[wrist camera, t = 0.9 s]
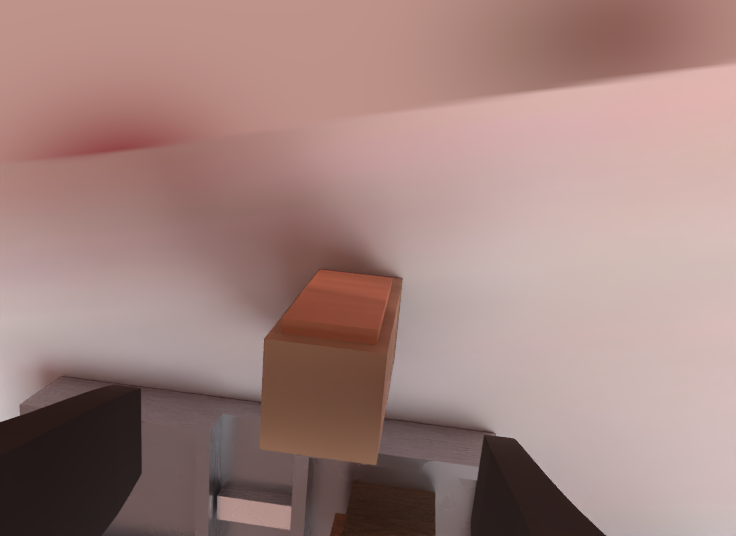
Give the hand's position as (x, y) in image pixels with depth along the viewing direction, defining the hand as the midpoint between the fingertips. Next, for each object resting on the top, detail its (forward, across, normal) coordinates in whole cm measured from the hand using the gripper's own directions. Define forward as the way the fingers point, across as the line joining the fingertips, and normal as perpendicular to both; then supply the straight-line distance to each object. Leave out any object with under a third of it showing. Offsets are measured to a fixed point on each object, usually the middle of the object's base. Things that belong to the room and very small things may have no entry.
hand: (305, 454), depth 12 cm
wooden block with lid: (+9, 0, 0) cm, 9 cm away
